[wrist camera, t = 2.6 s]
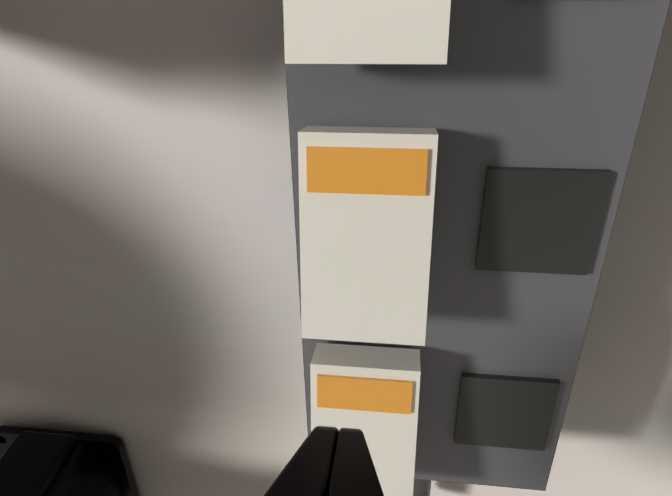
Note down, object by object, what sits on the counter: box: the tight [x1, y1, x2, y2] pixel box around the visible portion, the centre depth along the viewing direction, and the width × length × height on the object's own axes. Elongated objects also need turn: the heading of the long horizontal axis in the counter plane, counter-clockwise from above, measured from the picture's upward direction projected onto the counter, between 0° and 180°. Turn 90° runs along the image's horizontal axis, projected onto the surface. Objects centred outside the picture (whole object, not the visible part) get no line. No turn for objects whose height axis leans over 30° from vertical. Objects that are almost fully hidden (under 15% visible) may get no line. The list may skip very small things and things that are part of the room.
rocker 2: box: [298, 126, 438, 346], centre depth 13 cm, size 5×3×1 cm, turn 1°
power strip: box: [282, 0, 670, 496], centre depth 17 cm, size 25×8×4 cm, turn 1°
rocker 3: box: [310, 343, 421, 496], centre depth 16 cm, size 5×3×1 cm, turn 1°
